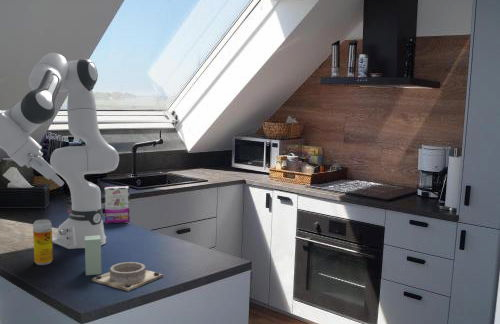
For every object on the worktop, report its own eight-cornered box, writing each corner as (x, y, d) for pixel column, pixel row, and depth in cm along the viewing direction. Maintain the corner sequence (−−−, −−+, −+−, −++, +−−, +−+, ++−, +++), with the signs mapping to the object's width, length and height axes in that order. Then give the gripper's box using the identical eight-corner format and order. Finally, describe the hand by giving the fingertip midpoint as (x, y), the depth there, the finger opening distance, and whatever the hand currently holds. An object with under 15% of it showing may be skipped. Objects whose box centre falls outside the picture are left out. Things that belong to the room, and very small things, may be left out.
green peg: (85, 275, 180) (84, 240, 178) (85, 270, 184) (84, 236, 183) (101, 274, 181) (100, 239, 180) (100, 269, 186) (100, 235, 184)
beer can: (42, 266, 188) (41, 224, 186) (30, 263, 191) (29, 221, 189) (56, 261, 193) (55, 220, 191) (44, 259, 196) (43, 218, 194)
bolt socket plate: (91, 280, 175) (91, 269, 174) (127, 267, 188) (127, 256, 188) (128, 291, 166) (127, 279, 166) (163, 276, 180) (162, 265, 179)
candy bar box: (129, 220, 255) (129, 185, 253) (129, 222, 250) (129, 187, 248) (105, 221, 253) (104, 186, 250) (104, 223, 248) (104, 188, 246)
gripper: (38, 147, 162) (72, 179, 167) (32, 144, 180) (63, 173, 185) (22, 162, 160) (57, 194, 165) (18, 158, 178) (50, 187, 183)
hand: (60, 183), depth 175 cm, fingers open, 8 cm apart
